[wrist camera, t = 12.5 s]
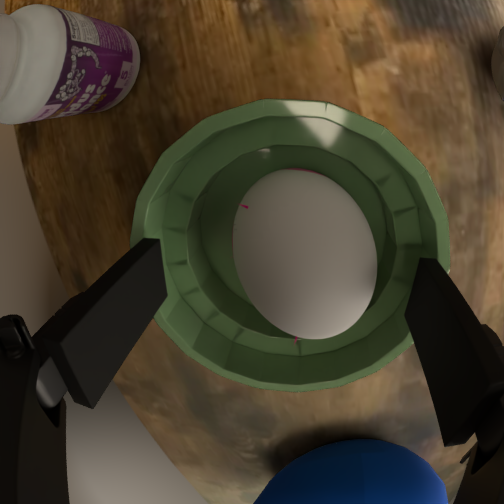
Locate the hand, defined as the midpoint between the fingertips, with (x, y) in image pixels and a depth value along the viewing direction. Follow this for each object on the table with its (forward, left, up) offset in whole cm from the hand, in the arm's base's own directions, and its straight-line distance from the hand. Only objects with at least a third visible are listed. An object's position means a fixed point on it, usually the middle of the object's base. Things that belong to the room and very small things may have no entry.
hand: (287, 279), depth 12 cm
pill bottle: (-11, +9, -5) cm, 15 cm away
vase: (+8, -24, -5) cm, 26 cm away
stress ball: (0, 0, -5) cm, 5 cm away
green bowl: (0, 0, -5) cm, 5 cm away
